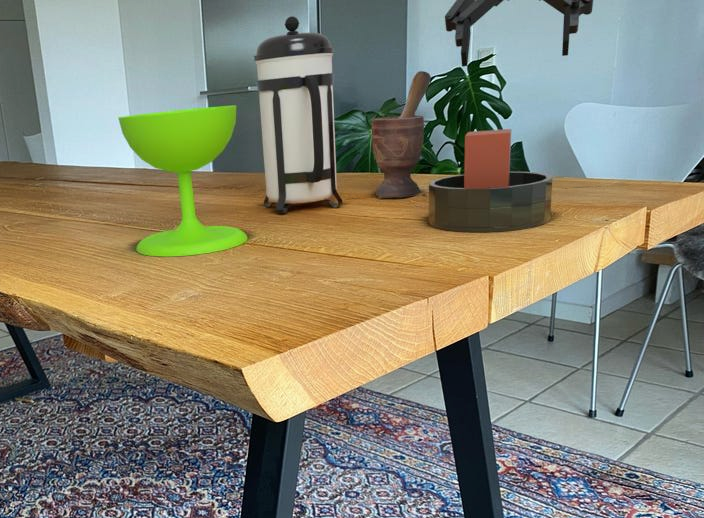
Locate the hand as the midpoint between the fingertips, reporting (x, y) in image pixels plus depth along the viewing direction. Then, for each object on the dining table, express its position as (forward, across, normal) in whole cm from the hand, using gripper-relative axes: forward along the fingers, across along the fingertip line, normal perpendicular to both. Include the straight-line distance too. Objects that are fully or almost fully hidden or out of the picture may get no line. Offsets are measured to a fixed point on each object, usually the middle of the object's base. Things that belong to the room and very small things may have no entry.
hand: (513, 54), depth 106 cm
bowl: (+26, +2, -4) cm, 26 cm away
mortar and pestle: (+7, +18, -23) cm, 30 cm away
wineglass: (+34, +41, +5) cm, 54 cm away
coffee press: (+15, +32, -15) cm, 39 cm away
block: (+25, +2, -4) cm, 25 cm away
